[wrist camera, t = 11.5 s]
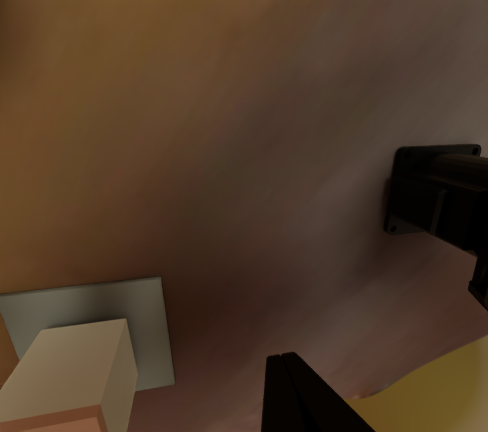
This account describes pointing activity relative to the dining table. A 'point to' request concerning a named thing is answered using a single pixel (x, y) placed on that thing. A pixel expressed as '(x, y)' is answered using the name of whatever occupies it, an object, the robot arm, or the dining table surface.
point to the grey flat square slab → (99, 320)
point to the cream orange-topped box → (72, 381)
